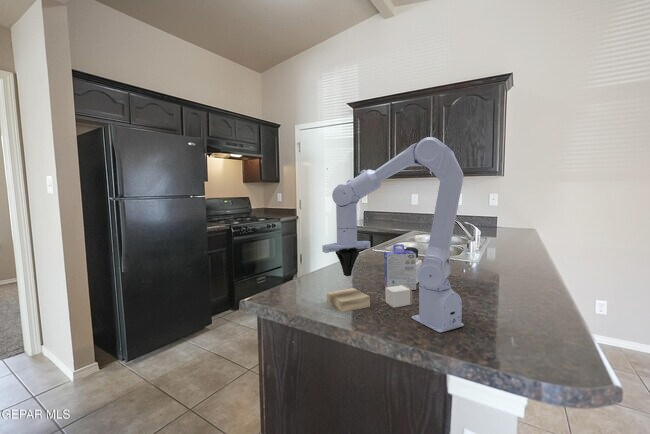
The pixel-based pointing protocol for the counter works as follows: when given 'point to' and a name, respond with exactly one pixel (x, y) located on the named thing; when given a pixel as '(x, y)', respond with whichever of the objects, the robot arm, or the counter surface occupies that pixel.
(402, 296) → the off-white cardboard box
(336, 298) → the maple block
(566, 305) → the counter surface
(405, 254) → the ink cartridge box
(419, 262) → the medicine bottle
